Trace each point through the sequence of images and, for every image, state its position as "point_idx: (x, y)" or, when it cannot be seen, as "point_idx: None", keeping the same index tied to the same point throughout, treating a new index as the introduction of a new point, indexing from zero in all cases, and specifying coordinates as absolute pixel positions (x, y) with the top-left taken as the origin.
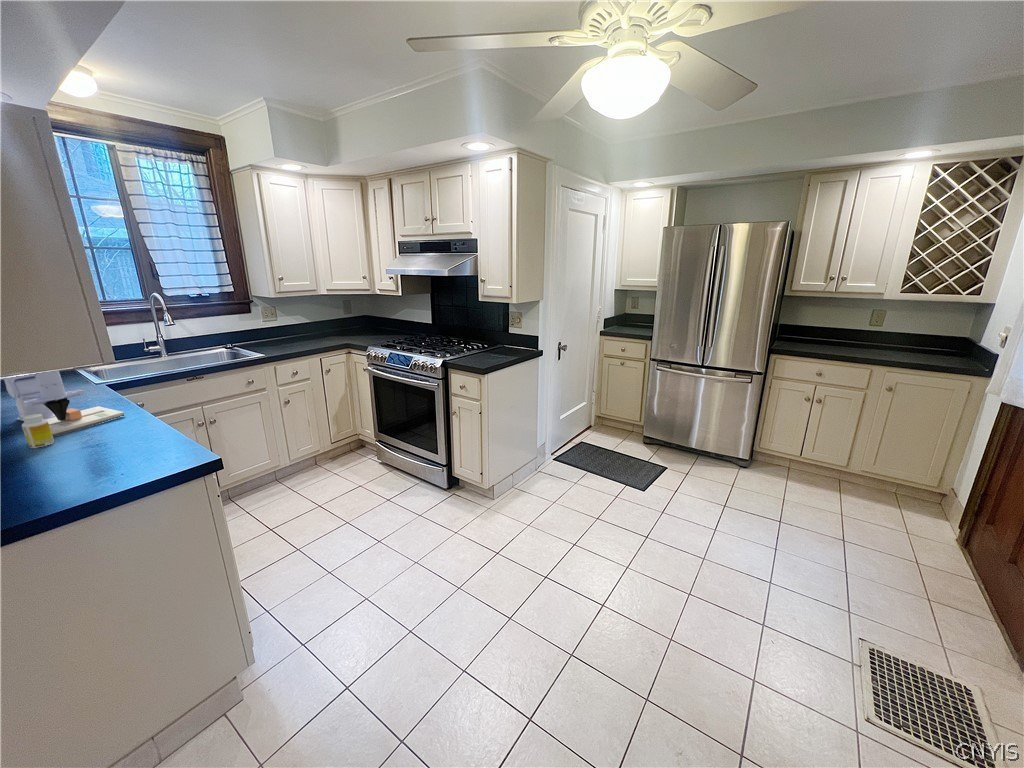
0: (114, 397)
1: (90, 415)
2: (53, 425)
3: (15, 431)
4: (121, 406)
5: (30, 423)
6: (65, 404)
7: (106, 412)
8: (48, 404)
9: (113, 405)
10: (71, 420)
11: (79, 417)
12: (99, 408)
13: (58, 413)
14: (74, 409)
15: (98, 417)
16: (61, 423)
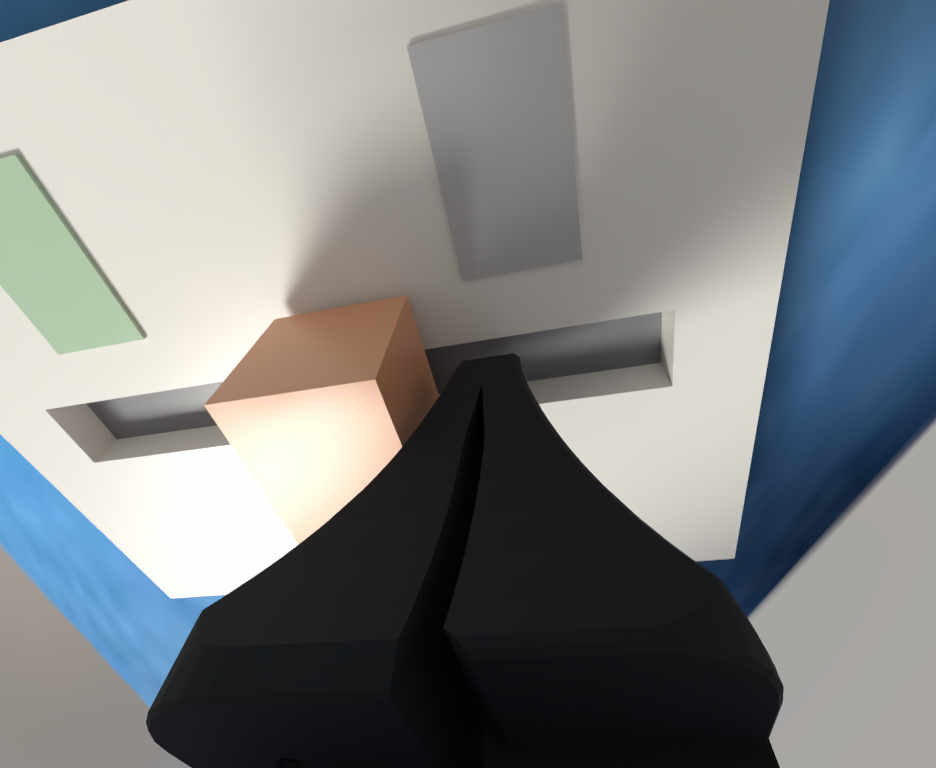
0: (151, 701)
1: (198, 375)
2: (630, 289)
3: (787, 525)
4: (48, 543)
5: None
6: (328, 574)
7: (19, 350)
8: (753, 739)
9: (121, 596)
10: (407, 299)
11: (300, 322)
12: (147, 540)
13: (535, 426)
14: (291, 502)
15: (58, 162)
16: (530, 301)
